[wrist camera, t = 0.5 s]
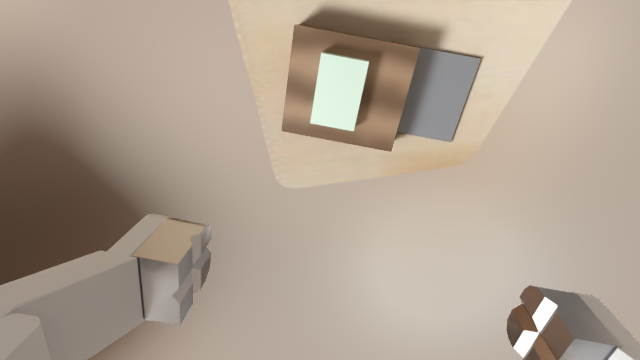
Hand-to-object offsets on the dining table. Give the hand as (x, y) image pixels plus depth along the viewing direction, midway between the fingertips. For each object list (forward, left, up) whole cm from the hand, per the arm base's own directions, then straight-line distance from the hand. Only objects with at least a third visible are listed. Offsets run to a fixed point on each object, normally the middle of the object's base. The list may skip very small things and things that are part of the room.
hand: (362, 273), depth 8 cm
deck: (+3, 0, -42) cm, 42 cm away
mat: (+2, +12, -42) cm, 44 cm away
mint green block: (+3, -1, -38) cm, 38 cm away
